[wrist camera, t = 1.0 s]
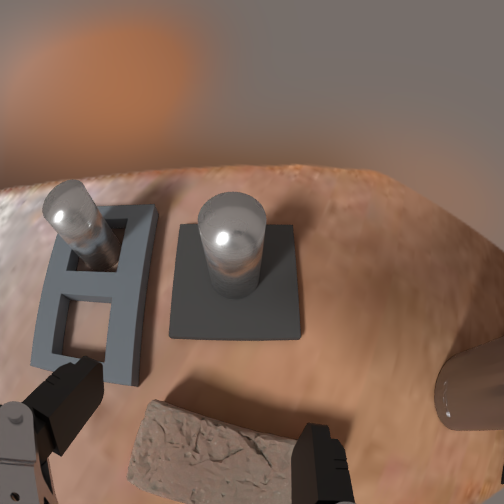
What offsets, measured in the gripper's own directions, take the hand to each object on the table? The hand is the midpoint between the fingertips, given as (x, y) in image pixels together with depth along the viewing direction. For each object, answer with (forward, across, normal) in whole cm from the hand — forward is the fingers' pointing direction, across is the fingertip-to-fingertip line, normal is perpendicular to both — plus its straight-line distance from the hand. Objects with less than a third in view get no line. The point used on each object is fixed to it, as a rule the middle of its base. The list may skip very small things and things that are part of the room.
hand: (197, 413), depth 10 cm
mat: (+20, +1, +2) cm, 20 cm away
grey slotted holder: (+18, +15, +6) cm, 24 cm away
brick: (+9, -4, +15) cm, 18 cm away
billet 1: (+21, +16, +3) cm, 26 cm away
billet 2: (+20, +1, +1) cm, 20 cm away
